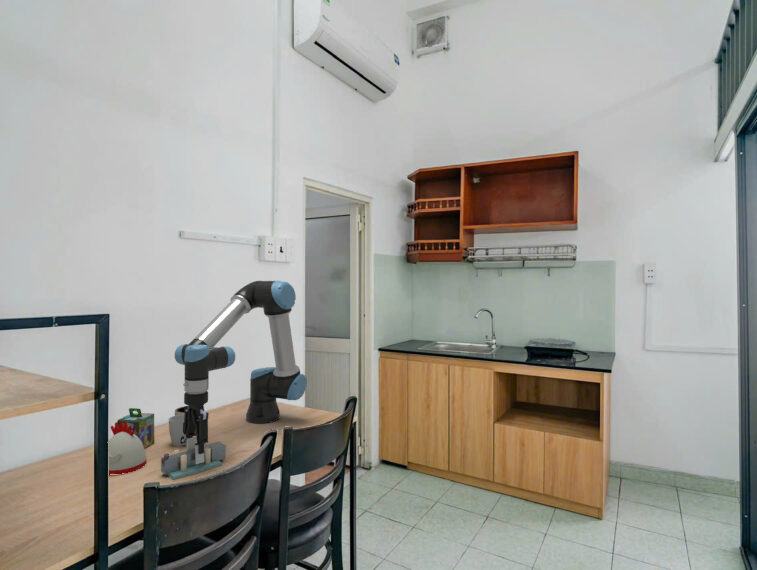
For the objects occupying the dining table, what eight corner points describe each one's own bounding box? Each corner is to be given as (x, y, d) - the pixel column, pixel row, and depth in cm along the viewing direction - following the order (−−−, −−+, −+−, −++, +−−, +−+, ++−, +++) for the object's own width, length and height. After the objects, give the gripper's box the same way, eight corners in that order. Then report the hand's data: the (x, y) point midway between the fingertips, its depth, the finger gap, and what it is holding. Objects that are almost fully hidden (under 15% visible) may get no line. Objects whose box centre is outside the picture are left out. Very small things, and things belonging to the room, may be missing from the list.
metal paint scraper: (218, 454, 157) (219, 438, 157) (225, 458, 153) (225, 441, 153) (159, 470, 142) (160, 453, 142) (165, 475, 139) (166, 457, 139)
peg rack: (208, 457, 157) (208, 440, 157) (221, 465, 150) (222, 447, 150) (161, 470, 145) (161, 452, 145) (173, 479, 138) (173, 460, 138)
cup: (182, 448, 164) (183, 421, 164) (163, 446, 166) (163, 420, 166) (195, 441, 172) (196, 415, 172) (177, 439, 174) (177, 413, 174)
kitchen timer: (115, 457, 155) (116, 415, 155) (154, 459, 154) (155, 416, 154) (88, 474, 141) (89, 428, 141) (130, 476, 140) (131, 429, 140)
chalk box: (155, 443, 169) (155, 404, 169) (139, 452, 160) (139, 411, 160) (132, 441, 170) (133, 403, 170) (115, 450, 161) (116, 410, 161)
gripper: (173, 388, 152) (172, 454, 152) (197, 398, 139) (196, 471, 139) (195, 384, 157) (194, 449, 157) (220, 394, 144) (219, 465, 144)
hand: (195, 459), depth 148 cm, fingers open, 6 cm apart
